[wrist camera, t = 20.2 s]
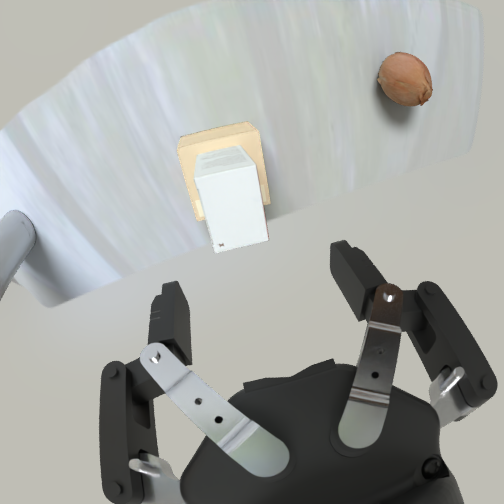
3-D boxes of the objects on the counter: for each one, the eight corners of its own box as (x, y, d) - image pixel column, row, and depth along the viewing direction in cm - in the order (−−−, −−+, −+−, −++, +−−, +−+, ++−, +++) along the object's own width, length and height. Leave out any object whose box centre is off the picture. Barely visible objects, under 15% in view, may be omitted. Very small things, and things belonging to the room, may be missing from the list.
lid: (197, 219, 36) (197, 221, 35) (177, 148, 30) (176, 149, 30) (269, 201, 36) (270, 204, 36) (257, 129, 31) (258, 130, 30)
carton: (196, 195, 42) (197, 215, 37) (180, 136, 36) (177, 147, 30) (257, 180, 43) (267, 199, 37) (247, 121, 37) (256, 129, 31)
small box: (252, 202, 35) (270, 243, 26) (210, 211, 35) (214, 256, 26) (241, 143, 31) (258, 163, 22) (195, 153, 30) (192, 178, 22)
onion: (393, 87, 38) (435, 114, 33) (362, 93, 36) (409, 122, 31) (400, 44, 30) (448, 68, 25) (368, 43, 28) (423, 68, 23)
